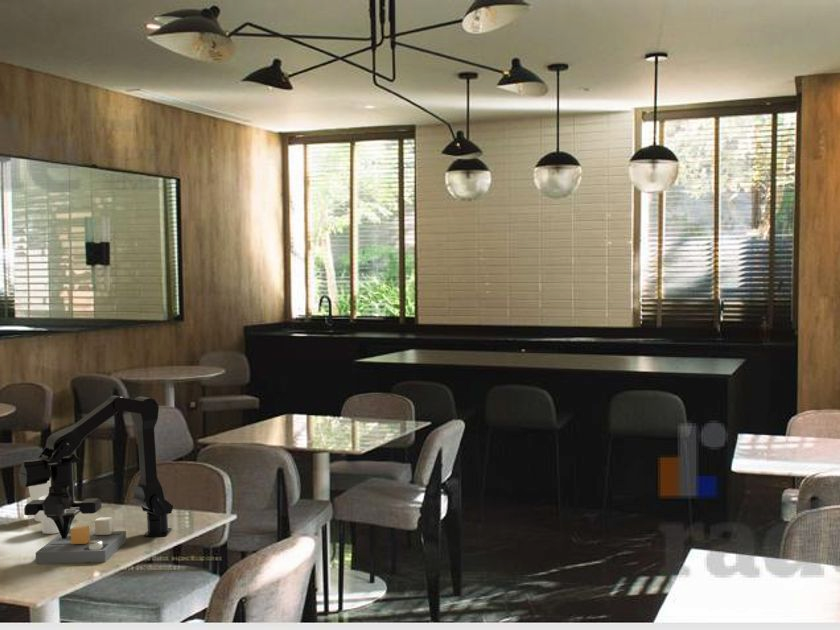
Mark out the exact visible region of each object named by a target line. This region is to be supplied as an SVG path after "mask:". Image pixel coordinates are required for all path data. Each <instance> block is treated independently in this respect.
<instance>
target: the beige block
mask: <svg viewBox="0 0 840 630" xmlns="http://www.w3.org/2000/svg"><path fill="white" fill-rule="evenodd" d="M113 531H114V517H112V516H110V517H109V516H108V517H107V516H106V517H103V516H102V517H97V518H96V519H95V520H94V532H95V535H110V534H111V533H112V532H113Z"/></svg>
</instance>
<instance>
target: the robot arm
mask: <svg viewBox="0 0 840 630" xmlns="http://www.w3.org/2000/svg"><path fill="white" fill-rule="evenodd" d="M159 409H160V405H159V403H158V401H157V400H156V399H153V398H152V397H151V398H150V397H145V396H136V397H135V398H128V397H123V396H121V395H120V396H118V395H111V396H109V397H108V398H107V399H106V400H105V401H104V402H102V403H101V404H100V405H99V406H97V407H96V408H94V409H93V410H92V411H90V412H89V413H88V414H86V415H85V416H83V417H82V418H81V419H79V420H78V421H76V422H75V423H73V424H71V425H70V426H68V427H65V428H61V429H60V430H58V431H56V432H53V433H52V434H50V435H49V436H48V437H47V439H46V444H45V446H44V447H43V450H42V451H41V453H40V454H39V455H38V457H37V459H32V460H31V459H30V460H27V459H26V460H22V461H21V466H20V468H19V472H18V480H19V483H20V484H19V485H20V486H21V487H22V488H23V489H24V488H29V487H30V486H35V485H41V484H46V483H47V481H50V480H51V486H50V487H49V494H48V496H47V497H46V499H45V500H32V501H31V500H30V501H29V502H28V503H26V504H25V505H24V508H23V513H24V515H25V516H34V515H36V514H37V513H38V512H39V511H44V514H45V515H46V517H47V518H51V519H52V520H53V521H54V522H55V524H56V526H57V528H58V530H59V532H60V533H59V534H60V535H61V537H62V539H66V538H67V535H68V532H69V529H70V527H71V525H73V522H74V519H75V517H76V516H77V515H78V514H80V513H81V514H83V515H86V514H89V515H90V514H96V513H97V512H98V511H99V510H101V509H102V501H101V499H100V498H99V497H98V498H97V497H96V498H95V497H92V498H84V500H82V501H81V502H77V499H76V498H77V497H76V496H75V486H76V481H74V464H76V463H81V462H82V460H81V458H79V457H78V456H76V454H75V453H74V452H75V451H76V450H77V449H78V448H79V447H80V446H81V444H82V442H83V440H84V439H85V438H86V437H87V436H88V435H89V434H91V433H93V432H94V431H95V430H96V429H98V428H99V427H100V426H103V424H104V423H106V422H107V421H108V420H109V419H111V418H112V417H114V416H115V415H116V414H118V413H119V412H129V413H130V414H131V419H132V421H133V423H134V425H135V428H136V434H137V449H138V463H139V464H138V465H139V480H138V483H137V484H133V487H132V488H133V493H134V494H133V499H135V502H136V504H137V505H138V506H139V507H140V508H141V509H142V512H146V523H147V525H146V527H147V531H145V532H144V534H143V536H144V537H164V536H165V537H166V536H168V535H169V534H170V533H171V532H172V530H173V529H172V527H169V521H168V519H169V518H168V515H169V514H172V512H173V509H174V505H173V504H171V503H170V502H169V501H168V500H166V499H165V493H164V489H163V486H162V484H161V482H160V480H159V478H158V470H157V465H158V464H157V452H156V451H157V450H156V437H155V436H156V435H155V426H156V424H157V422H158V419H159V413H160V412H159ZM65 512H66V513H65Z"/></svg>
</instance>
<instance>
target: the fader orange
mask: <svg viewBox="0 0 840 630" xmlns="http://www.w3.org/2000/svg"><path fill="white" fill-rule="evenodd" d="M90 528H91V527H90V525H75V526H74V527H73V528H71V529H70V531H71V544H86V543H87V542H89V541H90V532H91V529H90Z"/></svg>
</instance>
